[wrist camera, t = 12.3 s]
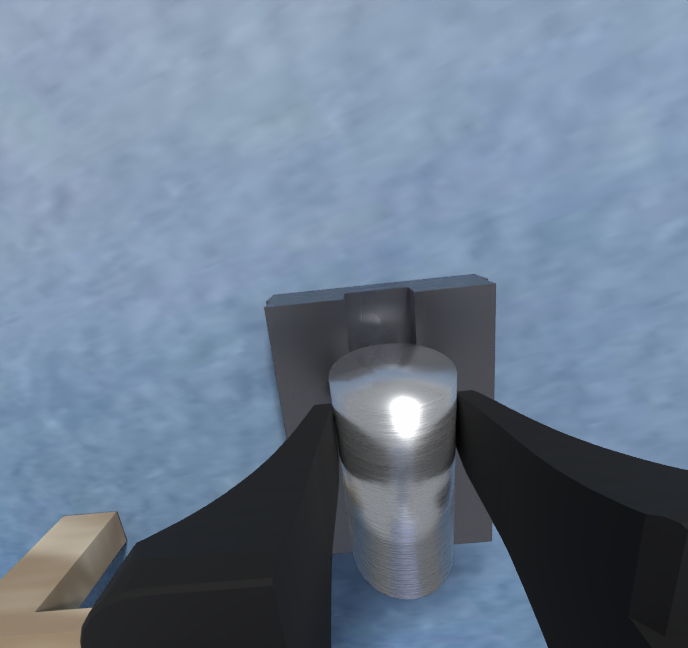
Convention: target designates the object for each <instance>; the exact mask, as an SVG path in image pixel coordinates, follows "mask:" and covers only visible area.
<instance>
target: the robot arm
mask: <svg viewBox="0 0 688 648" xmlns="http://www.w3.org/2000/svg"><path fill="white" fill-rule="evenodd" d="M456 448H457V451H458V454H459V456H460V459H461V462H462V464H463V467H464V469H465V472H466V474H467V476H468V477H469V479H470V481H471V483H472V485H473V487H474V489H475V490H476V492H477V494H478V496H479V498H480V500H481V501H482V503H483V505H484V507H485V509H486V511H487V512H488V514H489V516H490V518H491V520H492V522H493V523H494V525H495V527H496V529H497V531H498V532H499V534H500V536H501V538H502V540H503V542H504V544H505V546H506V548H507V550H508V552H509V555H510V557H511V559H512V561H513V564H514V566H515V568H516V571H517V573H518V575H519V578H520V580H521V582H522V585H523V587H524V589H525V592H526V594H527V597H528V599H529V601H530V604H531V606H532V609H533V611H534V614H535V616H536V618H537V621H538V623H539V626H540V628H541V631H542V633H543V636H544V638H545V641H546V643H547V646H548V648H688V470H684V469H679V468H675V467H671V466H666V465H662V464H658V463H655V462H651V461H647V460H643V459H639V458H636V457H633V456H629V455H626V454H622V453H619V452H616V451H612V450H609V449H606V448H603V447H600V446H597V445H594V444H591V443H588V442H586V441H583V440H580V439H578V438H575V437H572V436H569V435H567V434H564V433H562V432H559V431H557V430H555V429H552V428H550V427H548V426H546V425H543V424H541V423H539V422H537V421H535V420H532V419H530V418H528V417H526V416H524V415H522V414H520V413H518V412H516V411H514V410H512V409H510V408H508V407H506V406H504V405H502V404H500V403H499V402H497V401H495V400H493V399H491V398H489V397H487V396H485V395H483V394H481V393H479V392H477V391H474V390H466V391H457V403H456ZM338 491H339V453H338V445H337V437H336V429H335V421H334V414H333V407H332V403H329V404H318V405H314V406H313V407H312V408H311V410H310V411H309V412H308V413H307V415H306V416H305V418H304V419H303V420H302V421H301V423H300V424H299V425H298V427H297V428H296V429H295V430H294V431H293V433H292V434H291V435H290V436H289V438H288V439H287V440H286V441H285V442H284V443H283V444H282V445H281V446H280V448H279V449H278V450H277V451H276V452H275V453H274V454H273V455H272V456H271V457H270V458H269V459H268V460H267V461H266V462H265V463H263V464H262V465H261V466H260V467H259V468H258V469H256V470H255V471H254V472H253V473H252V474H251V475H249V476H248V477H247V478H245V479H244V480H243V481H241V482H240V483H239V484H237V485H236V486H235V487H233V488H232V489H231V490H229V491H228V492H226V493H225V494H224V495H222V496H221V497H219V498H218V499H216V500H215V501H213V502H211V503H210V504H208V505H207V506H205V507H203V508H202V509H200V510H198V511H197V512H195V513H193V514H192V515H190V516H188V517H186V518H185V519H183V520H181V521H179V522H177V523H175V524H173V525H171V526H170V527H168V528H166V529H164V530H162V531H160V532H158V533H156V534H154V535H152V536H150V537H148V538H146V539H144V540H142V541H140V542H138V543H136V544H135V546H134V547H133V548H132V550H131V551H130V553H129V554H128V555H127V557H126V558H125V560H124V561H123V563H122V564H121V566H120V567H119V569H118V570H117V572H116V573H115V575H114V576H113V578H112V579H111V581H110V582H109V584H108V585H107V587H106V588H105V590H104V591H103V593H102V594H101V596H100V597H99V599H98V600H97V602H96V603H95V605H94V606H93V608H92V609H91V611H90V612H89V614H88V616H87V617H86V619H85V621H84V623H83V625H82V628H81V636H80V645H81V648H331V571H332V551H333V541H334V531H335V521H336V511H337V501H338Z"/></svg>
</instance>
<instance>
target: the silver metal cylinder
mask: <svg viewBox="0 0 688 648" xmlns="http://www.w3.org/2000/svg"><path fill="white" fill-rule="evenodd" d="M329 385H330V393H331V400H332V407H333V414H334V421H335V428H336V435H337V443H338V450H339V457H340V464H341V471H342V478H343V485H344V493H345V500H346V507H347V514H348V521H349V528H350V536H351V543H352V550H353V556H354V560H355V563H356V565H357V568H358V569H359V571H360V573H361V575H362V576H363V577H364V579H365V580H366V581H367V582H368V583H369V584H370V585H371V586H372V587H374V588H375V589H376V590H378V591H379V592H381V593H383V594H385V595H387V596H390V597H393V598H398V599H417V598H421V597H424V596H427V595H429V594H431V593H433V592H434V591H435V590H437V589H438V588H439V587H440V586H441V585H442V584H443V583H444V582H445V580H446V579H447V577H448V575H449V573H450V571H451V568H452V564H453V554H454V504H455V453H456V403H457V370H456V367H455V365H454V363H453V362H452V361H451V360H450V359H449V358H448V357H447V356H445V355H444V354H442V353H440V352H438V351H436V350H433V349H431V348H428V347H424V346H420V345H414V344H405V343H387V344H378V345H372V346H367V347H363V348H360V349H357V350H355V351H352V352H350V353H348V354H346V355H344V356H343V357H341V358H340V359H339V360H337V361H336V362H335V363H334V364H333V366H332V367H331V369H330V371H329Z"/></svg>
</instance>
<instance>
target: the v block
mask: <svg viewBox="0 0 688 648" xmlns="http://www.w3.org/2000/svg"><path fill="white" fill-rule="evenodd" d="M266 303H267V305H266V306H265V307H264V309H265V315H266V321H267V327H268V332H269V338H270V344H271V350H272V356H273V361H274V367H275V373H276V379H277V385H278V390H279V396H280V402H281V408H282V413H283V419H284V425H285V431H286V437H287V439H288V438H289V436H290V435H291V434H292V433H293V431H294V430H295V429H296V428H297V427H298V425H299V424H300V423H301V421H302V420H303V419H304V418H305V416H306V415H307V413H308V412H309V411H310V410H311V408H312V407H313V406H314V405H318V404H329V403H332V400H331V393H330V385H329V371H330V369H331V367H332V366H333V364H334V363H335V362H336V361H337V360H339V359H340V358H341V357H343V356H344V355H346V354H348V353H350V352H352V351H355V350H357V349H360V348H363V347H367V346H372V345H378V344H387V343H405V344H414V345H420V346H424V347H428V348H431V349H433V350H436V351H438V352H440V353H442V354H444V355H445V356H447V357H448V358H449V359H450V360H451V361H452V362H453V363H454V365H455V367H456V370H457V391H466V390H474V391H477V392H479V393H481V394H483V395H485V396H487V397H489V398H491V399H493V400H494V378H495V316H496V283H493V282H490V281H488V279H487V278H484V277H481V276H478V275H475V274H471V275H461V276H452V277H442V278H432V279H423V280H413V281H404V282H394V283H384V284H375V285H365V286H356V287H346V288H336V289H327V290H317V291H308V292H298V293H289V294H279V295H273V296H272V297H271V298H270V299H269V300H268V301H266ZM335 429H336V428H335ZM336 437H337V435H336ZM337 445H338V443H337ZM338 453H339V450H338ZM488 541H492V520H491V518H490V516H489V514H488V512H487V511H486V509H485V507H484V505H483V503H482V501H481V500H480V498H479V496H478V494H477V492H476V490H475V489H474V487H473V485H472V483H471V481H470V479H469V477H468V476H467V474H466V472H465V469H464V467H463V464H462V462H461V459H460V456H459V454H458V451H457V448H456V453H455V504H454V544H464V543H476V542H488ZM342 553H353V550H352V543H351V536H350V528H349V521H348V514H347V507H346V500H345V493H344V485H343V478H342V471H341V464H340V457H339V491H338V501H337V511H336V521H335V531H334V541H333V551H332V554H342Z"/></svg>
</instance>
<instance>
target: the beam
mask: <svg viewBox="0 0 688 648" xmlns="http://www.w3.org/2000/svg"><path fill="white" fill-rule="evenodd" d="M126 541H127V540H126V537H125V534H124V531H123V528H122V526H121V523H120V520H119V517H118V514H117V512H108V513H96V514H85V515H73V516H63V517H62V518H61V519H60V520H59V521H58V522H57V523H56V524H55V525H54V526H53V527H52V528H51V529H50V530H49V532H48V533H47V534H46V535H45V536H44V537H43V538H42V539H41V540H40V541H39V542H38V543H37V544H36V545H35V546H34V547H33V548H32V549H31V550H30V551H29V552H28V553H27V554H26V555H25V556H24V557H23V558H22V559H21V560H20V561H19V562H18V563H17V564H16V565H15V566H14V567H13V568H12V569H11V570H10V571H9V572H8V573H7V574H6V575H5V576H4V577H3V578H2V579H1V580H0V648H81V645H80V636H81V628H82V625H83V623H84V621H85V619H86V617H87V616H88V614H89V612H90V611H91V609H92V608H82V609H79V607H80V606H81V604H82V603H83V602H84V600H85V599H86V597H87V596H88V594H89V593H90V592H91V590H92V589H93V587H94V586H95V585H96V583H97V582H98V580H99V579H100V577H101V576H102V575H103V573H104V572H105V570H106V569H107V568H108V566H109V565H110V563H111V562H112V561H113V559H114V558H115V556H116V555H117V553H118V552H119V551H120V549H121V548H122V546H123V545H124V544H125V542H126Z"/></svg>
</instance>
